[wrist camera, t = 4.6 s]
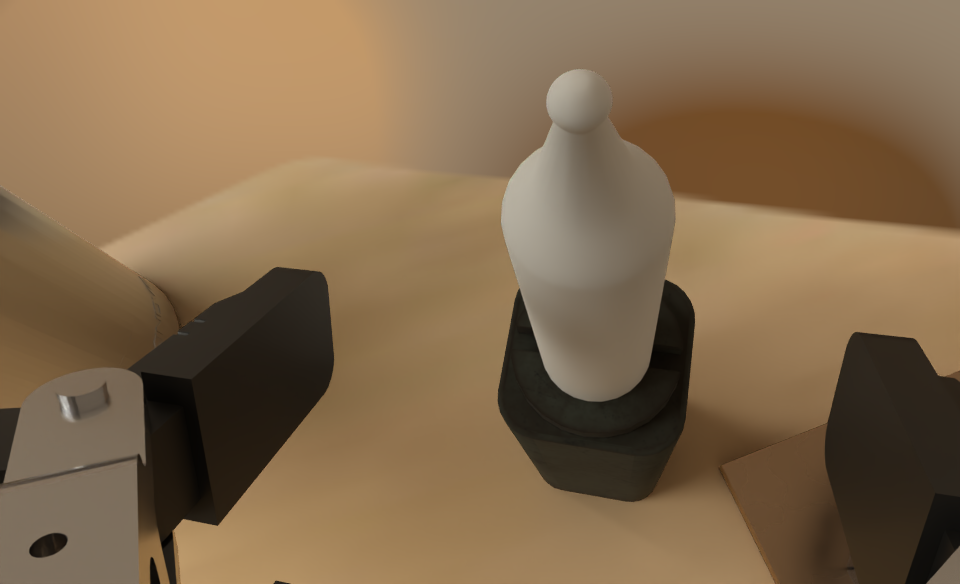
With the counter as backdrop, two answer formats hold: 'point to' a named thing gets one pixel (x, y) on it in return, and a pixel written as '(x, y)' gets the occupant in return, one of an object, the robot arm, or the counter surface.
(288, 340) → the robot arm
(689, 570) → the counter surface
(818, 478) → the collar stand
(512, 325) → the bottle
